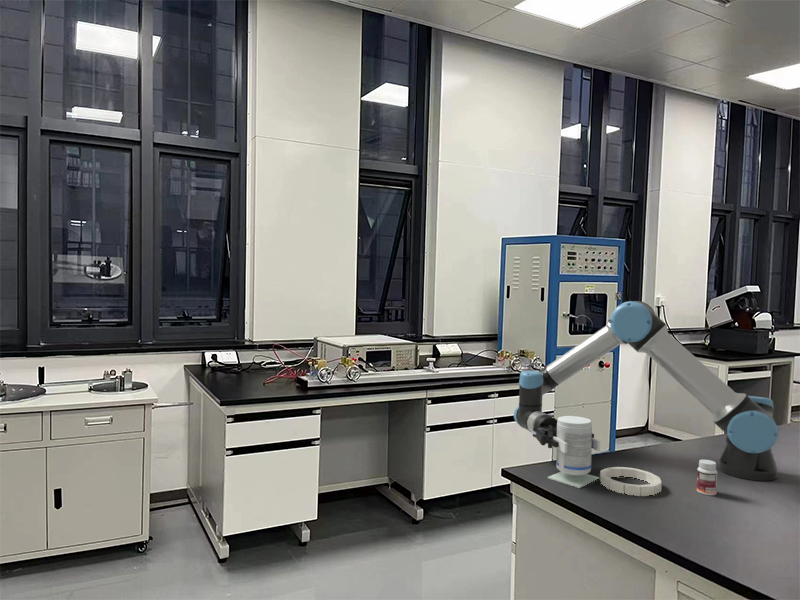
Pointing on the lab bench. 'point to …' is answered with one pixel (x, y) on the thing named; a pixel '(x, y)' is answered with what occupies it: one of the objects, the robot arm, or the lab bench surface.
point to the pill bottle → (707, 477)
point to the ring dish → (630, 488)
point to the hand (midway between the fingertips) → (582, 447)
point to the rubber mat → (573, 479)
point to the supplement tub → (574, 445)
